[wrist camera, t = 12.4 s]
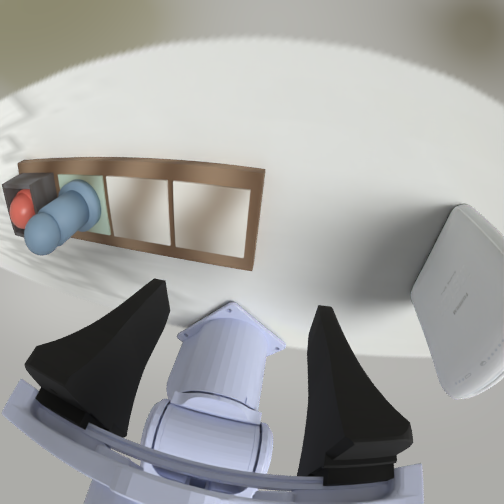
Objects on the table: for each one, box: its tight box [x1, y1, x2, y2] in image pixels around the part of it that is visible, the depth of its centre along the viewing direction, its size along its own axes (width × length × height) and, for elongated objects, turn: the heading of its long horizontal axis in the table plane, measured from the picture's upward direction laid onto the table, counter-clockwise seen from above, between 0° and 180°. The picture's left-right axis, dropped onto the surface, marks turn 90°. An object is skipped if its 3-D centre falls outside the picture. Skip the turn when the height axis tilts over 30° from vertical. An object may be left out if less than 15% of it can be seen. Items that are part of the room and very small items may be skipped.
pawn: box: [24, 179, 101, 255], centre depth 18 cm, size 5×5×7 cm
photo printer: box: [411, 204, 504, 400], centre depth 14 cm, size 10×4×12 cm, turn 170°
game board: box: [2, 157, 265, 271], centre depth 20 cm, size 26×8×4 cm, turn 84°
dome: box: [10, 189, 35, 229], centre depth 19 cm, size 4×4×4 cm
